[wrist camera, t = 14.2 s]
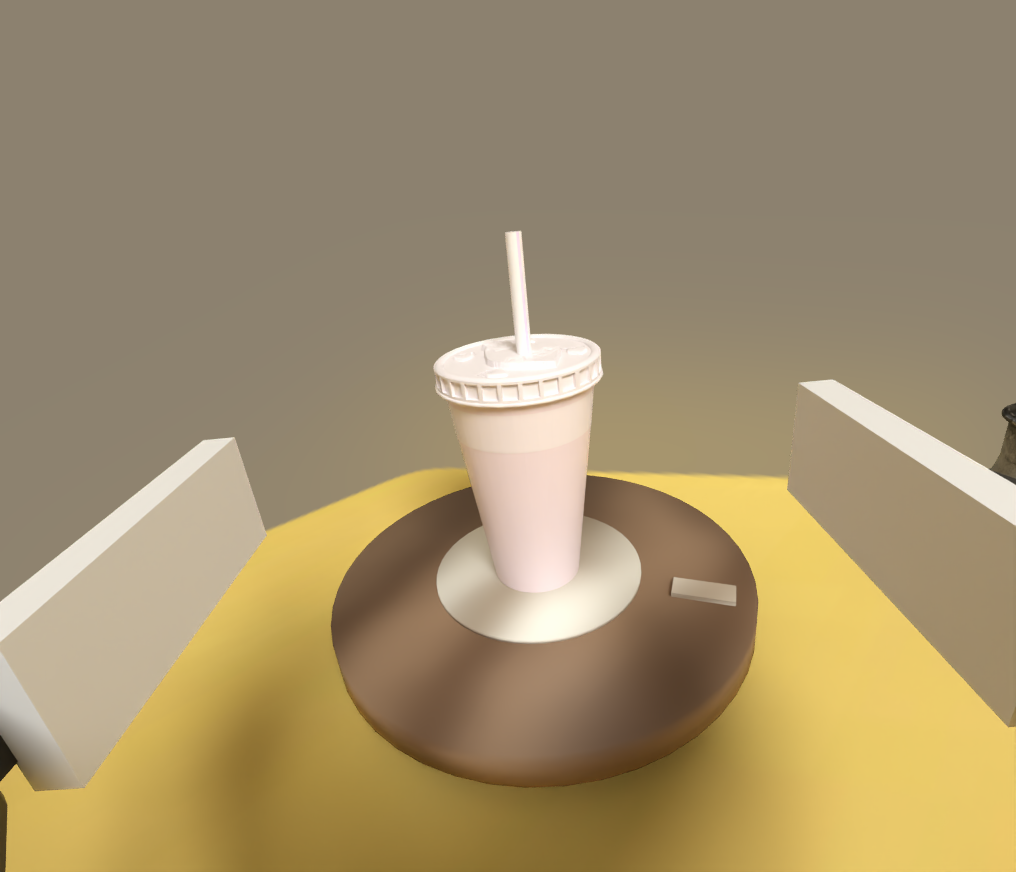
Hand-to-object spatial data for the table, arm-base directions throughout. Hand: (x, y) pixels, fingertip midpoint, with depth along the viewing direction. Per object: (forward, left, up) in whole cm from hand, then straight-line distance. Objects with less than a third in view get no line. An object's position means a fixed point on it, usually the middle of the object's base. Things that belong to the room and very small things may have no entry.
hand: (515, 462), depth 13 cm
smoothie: (-3, +8, -9) cm, 13 cm away
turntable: (-3, +8, -11) cm, 14 cm away
